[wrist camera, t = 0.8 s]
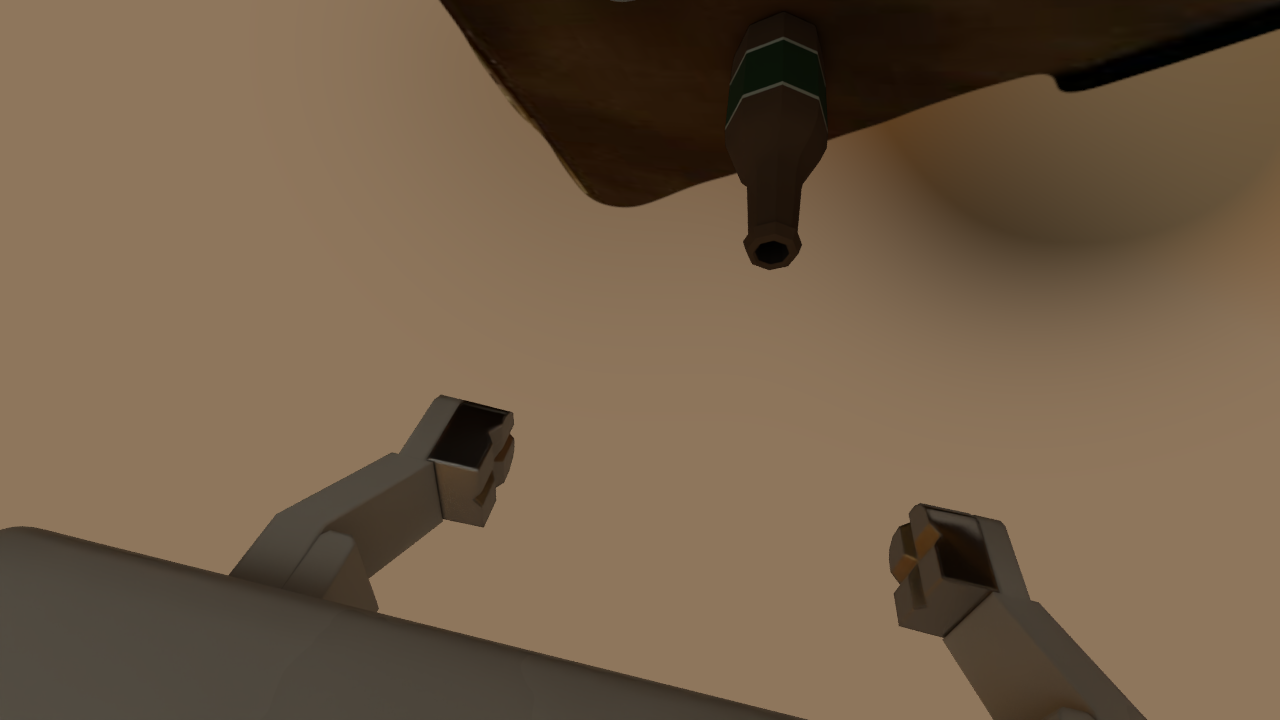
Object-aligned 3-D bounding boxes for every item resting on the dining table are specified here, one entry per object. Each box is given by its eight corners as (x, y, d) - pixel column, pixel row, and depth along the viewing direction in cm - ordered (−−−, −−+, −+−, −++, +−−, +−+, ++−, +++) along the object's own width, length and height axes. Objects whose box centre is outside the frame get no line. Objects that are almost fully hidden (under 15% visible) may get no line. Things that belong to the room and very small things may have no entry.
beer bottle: (715, 53, 53) (687, 249, 40) (786, -14, 47) (783, 187, 34) (771, 111, 56) (763, 307, 43) (843, 55, 51) (859, 259, 38)
